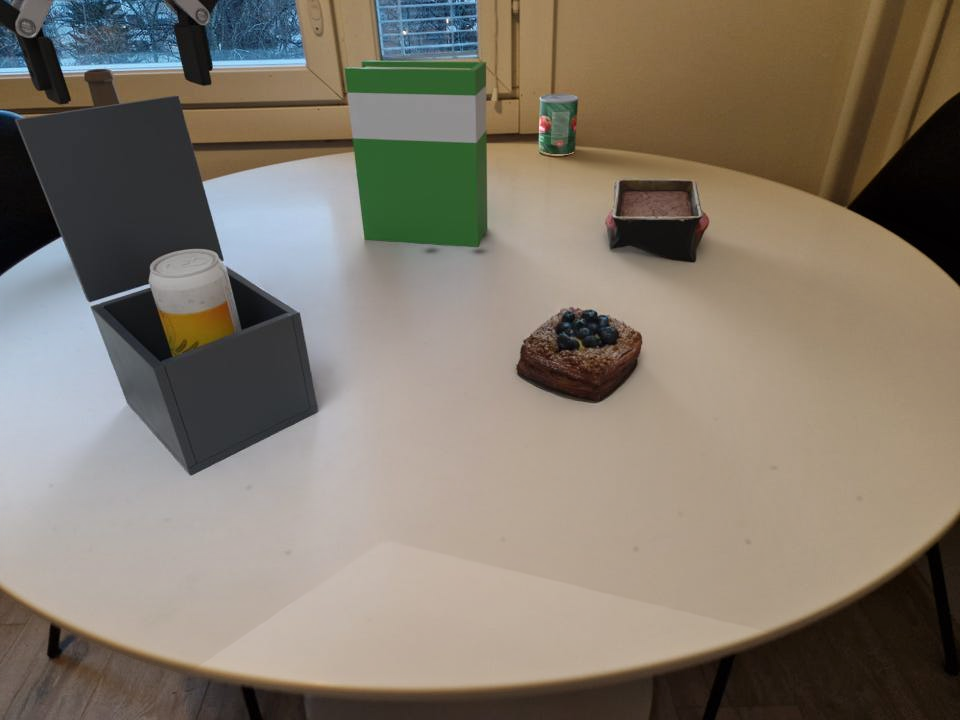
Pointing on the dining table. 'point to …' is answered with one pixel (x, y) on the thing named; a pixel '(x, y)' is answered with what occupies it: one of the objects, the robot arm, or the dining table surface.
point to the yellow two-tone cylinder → (193, 298)
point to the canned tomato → (558, 123)
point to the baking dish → (657, 217)
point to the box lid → (120, 189)
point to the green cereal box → (420, 150)
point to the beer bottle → (102, 87)
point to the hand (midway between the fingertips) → (133, 91)
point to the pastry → (580, 355)
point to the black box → (211, 374)
